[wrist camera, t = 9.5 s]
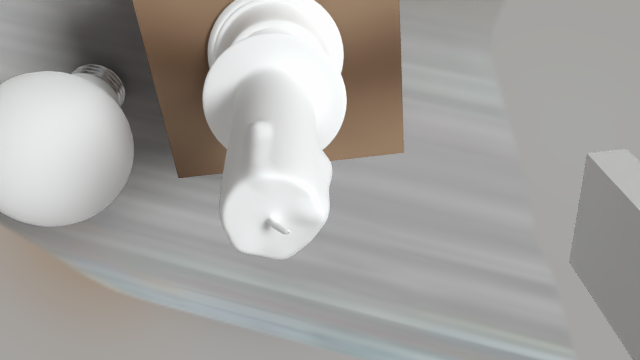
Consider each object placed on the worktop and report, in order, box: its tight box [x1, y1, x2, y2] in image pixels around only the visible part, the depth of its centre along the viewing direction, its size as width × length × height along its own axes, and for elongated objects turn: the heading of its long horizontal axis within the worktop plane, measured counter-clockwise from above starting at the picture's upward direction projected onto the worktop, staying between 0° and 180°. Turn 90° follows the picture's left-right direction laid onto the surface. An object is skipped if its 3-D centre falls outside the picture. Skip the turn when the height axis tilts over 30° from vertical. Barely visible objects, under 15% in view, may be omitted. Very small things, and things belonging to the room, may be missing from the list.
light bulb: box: [0, 64, 134, 227], centre depth 27 cm, size 7×7×11 cm
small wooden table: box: [132, 0, 404, 178], centre depth 27 cm, size 10×10×8 cm
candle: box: [202, 0, 347, 260], centre depth 18 cm, size 5×5×12 cm
